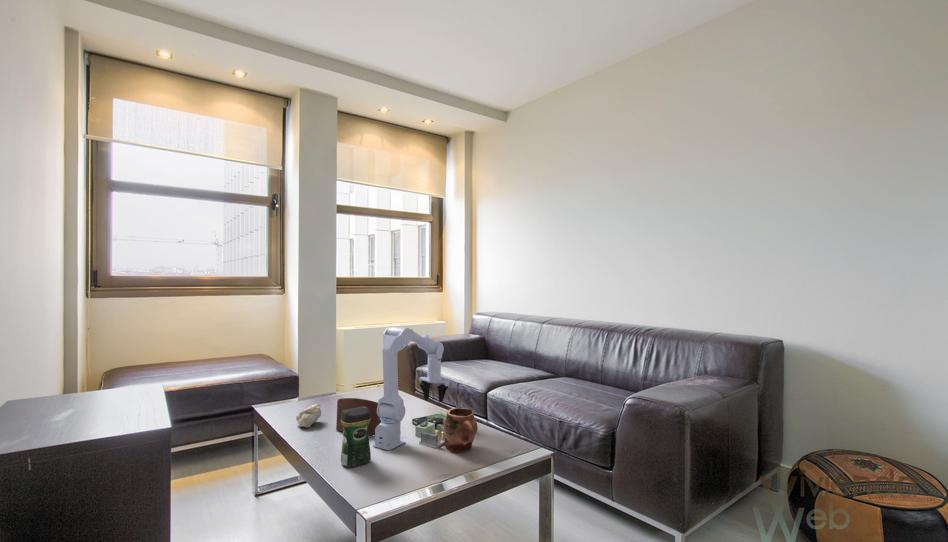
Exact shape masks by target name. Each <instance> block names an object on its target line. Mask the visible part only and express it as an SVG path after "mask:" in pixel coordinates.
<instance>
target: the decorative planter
mask: <svg viewBox="0 0 948 542" xmlns="http://www.w3.org/2000/svg"><path fill="white" fill-rule="evenodd" d="M445 416H446V417H445V418H444V420H443V426H444V431H445V433H446V435H445V444H444V447H445V449H446V450H447V451H448V452H450V453H453V454H454V453H455V454H457V453H458V454H459V453H464V452H467V451H469V450H471V449H472V446H473V444H474V440H475V437H476V434H477V433H478V429H479V426H478V422H477V420H476V418H475V412H474V411H473V410H472V409H470V408H462V407H461V408H460V407H453V408H452V407H451V408H450V409H448V410H447V411H446V415H445Z"/></svg>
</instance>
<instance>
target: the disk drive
mask: <svg viewBox="0 0 948 542" xmlns="http://www.w3.org/2000/svg"><path fill="white" fill-rule="evenodd" d="M445 417H446V415H445V414H443V413H434V414H431V415H425V416H419V417H415V418H412V422H411V424H412V425H413V426H414V427H416V426H418V425H420V424H422V423H424V422H425V421H428V422H430V423H435V429H437V425H438V424H441V425H443V420H444V418H445Z"/></svg>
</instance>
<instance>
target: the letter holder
mask: <svg viewBox="0 0 948 542" xmlns="http://www.w3.org/2000/svg"><path fill="white" fill-rule="evenodd" d="M362 406H365V407H367V408H368V409H369V411H370V418H371V420H370V423H369V436H371V435H374V436H373V437H375V429H376V427H377V426H378V425H379V424H380V423H381V420H380V417H379V416H378V415H377V407H378V401H374V400H369V399H364V398H357V397H345V398H344V397H343V398H342V397H341V398H338V399H337V402H336V428H335V429H336V430H337V432H341V431H343V426H342V423H341V417H342V411H343V410H346V409H352V408H357V407H362ZM336 430H335V431H336Z"/></svg>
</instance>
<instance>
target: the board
mask: <svg viewBox="0 0 948 542" xmlns="http://www.w3.org/2000/svg"><path fill="white" fill-rule="evenodd" d="M414 427H415V431H414V432H415V434H414V435H415V437H418V438H421V432H426V433H430V434H435V433H436V428H435V423H430V422H428V421H425V422H424V423H422V424H420V425H418V426H414Z"/></svg>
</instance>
